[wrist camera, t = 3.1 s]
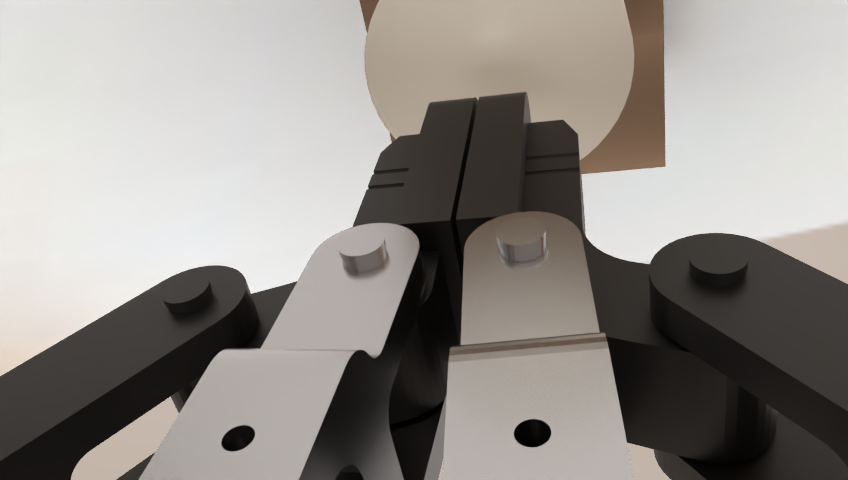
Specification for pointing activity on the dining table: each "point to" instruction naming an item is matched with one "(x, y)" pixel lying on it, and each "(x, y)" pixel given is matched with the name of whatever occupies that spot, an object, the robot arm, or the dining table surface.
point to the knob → (502, 59)
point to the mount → (644, 110)
